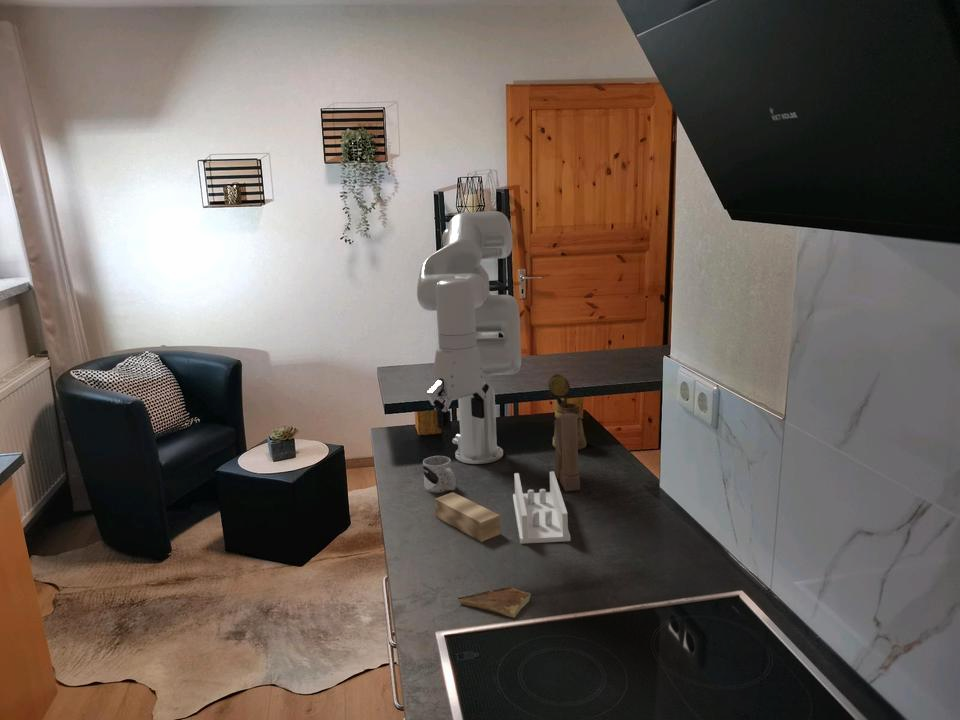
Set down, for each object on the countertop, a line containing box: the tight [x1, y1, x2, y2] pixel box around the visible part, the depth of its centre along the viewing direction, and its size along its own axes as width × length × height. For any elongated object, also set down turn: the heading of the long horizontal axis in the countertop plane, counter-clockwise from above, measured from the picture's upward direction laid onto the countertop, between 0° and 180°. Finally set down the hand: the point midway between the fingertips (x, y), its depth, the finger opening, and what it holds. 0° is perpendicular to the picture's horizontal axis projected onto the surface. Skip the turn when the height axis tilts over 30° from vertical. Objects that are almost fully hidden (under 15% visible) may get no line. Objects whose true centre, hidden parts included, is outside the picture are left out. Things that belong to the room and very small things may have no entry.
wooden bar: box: [434, 492, 501, 543], centre depth 158 cm, size 16×5×4 cm, turn 39°
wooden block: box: [554, 413, 581, 492], centre depth 175 cm, size 4×11×18 cm, turn 6°
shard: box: [457, 586, 531, 619], centre depth 129 cm, size 11×8×2 cm
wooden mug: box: [548, 373, 587, 451], centre depth 202 cm, size 9×14×18 cm, turn 16°
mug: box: [422, 455, 457, 494], centre depth 176 cm, size 10×7×7 cm, turn 39°
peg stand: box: [512, 470, 571, 544], centre depth 159 cm, size 22×10×6 cm, turn 2°
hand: (461, 423), depth 153 cm, fingers open, 9 cm apart
